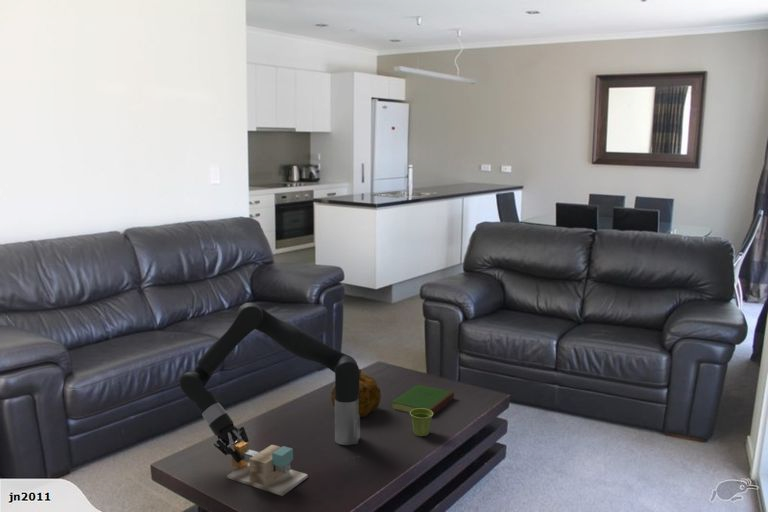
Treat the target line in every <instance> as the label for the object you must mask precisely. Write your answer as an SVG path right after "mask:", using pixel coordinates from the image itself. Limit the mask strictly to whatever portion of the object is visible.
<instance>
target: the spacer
mask: <svg viewBox="0 0 768 512" xmlns="http://www.w3.org/2000/svg"><path fill="white" fill-rule="evenodd" d="M280 447H281V448H280V449H278V450H276V451H275V452H273V453H272V464H273V465H276V466H280V467H283V466H285V465H286V464H287V463H289V462H290V463H291V462H292V461H293V460H294V448H292V447H288V446H285V445H283V446H280Z"/></svg>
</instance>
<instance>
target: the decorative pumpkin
mask: <svg viewBox="0 0 768 512" xmlns="http://www.w3.org/2000/svg"><path fill="white" fill-rule="evenodd" d="M359 374H360V381H359V415H360V418H364V417H366V416H368V414H369V413H371V412H373V411H375V410H377V409H378V407H379V405H380V402H381V398H382V396H381V395H382V394H381V389H380V388H379V386H378V383H377V381H376V379H374V377H372V376H371V375H367V374H365V373H362V370H361V369H360V368H359ZM333 386H334V387H332V389H333V390H331V393H330V399H331V401H330V402H331V404H332V406H333V408H334V409H335V385H333Z"/></svg>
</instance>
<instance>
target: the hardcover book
mask: <svg viewBox="0 0 768 512" xmlns="http://www.w3.org/2000/svg"><path fill="white" fill-rule="evenodd" d="M454 396H455V392H454V391H450V390H445V389H441V388H435V387H431V386H426V385H420V384H416V385H415V386H412V387H411V388H410V389H409V390H407V391H405V392H404V393H403V394H401V395H399V396H398V397H396V398H395V399H394V400H392V401H391V403H392V408H393V410H396V409H397V410H398V411H402V412H406V413H409V414H410V411H411V410H413V409H417V408H425V409H429V410H431V411H432V412H433V416H434V415H436V413H438V412H439V411H440V410H441V409H443V408H444V407H445V406H447V405H449V403H450V402H452V401H453V400H454V399H455V397H454Z"/></svg>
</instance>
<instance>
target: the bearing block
mask: <svg viewBox="0 0 768 512" xmlns="http://www.w3.org/2000/svg"><path fill="white" fill-rule="evenodd" d="M281 447H282V446H279V445H275V444H270V445H269V446H267V447H265V448H264V449H263V450H261V451H258V452H259V453H258V454H256V455H254V456H253V457H251V458H249V465H250V481H252V482H256V483H259V484H262V485H265V486H267V485H268V484H270V483H271V482H273V481H274V480H276V479H277V478H278V477H280V476H281V475H283V474H284V473H282V472H278V471H275V470H274V466H273V464H272V453H273V452H275V451H276V450H278V449H280V448H281Z"/></svg>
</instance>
